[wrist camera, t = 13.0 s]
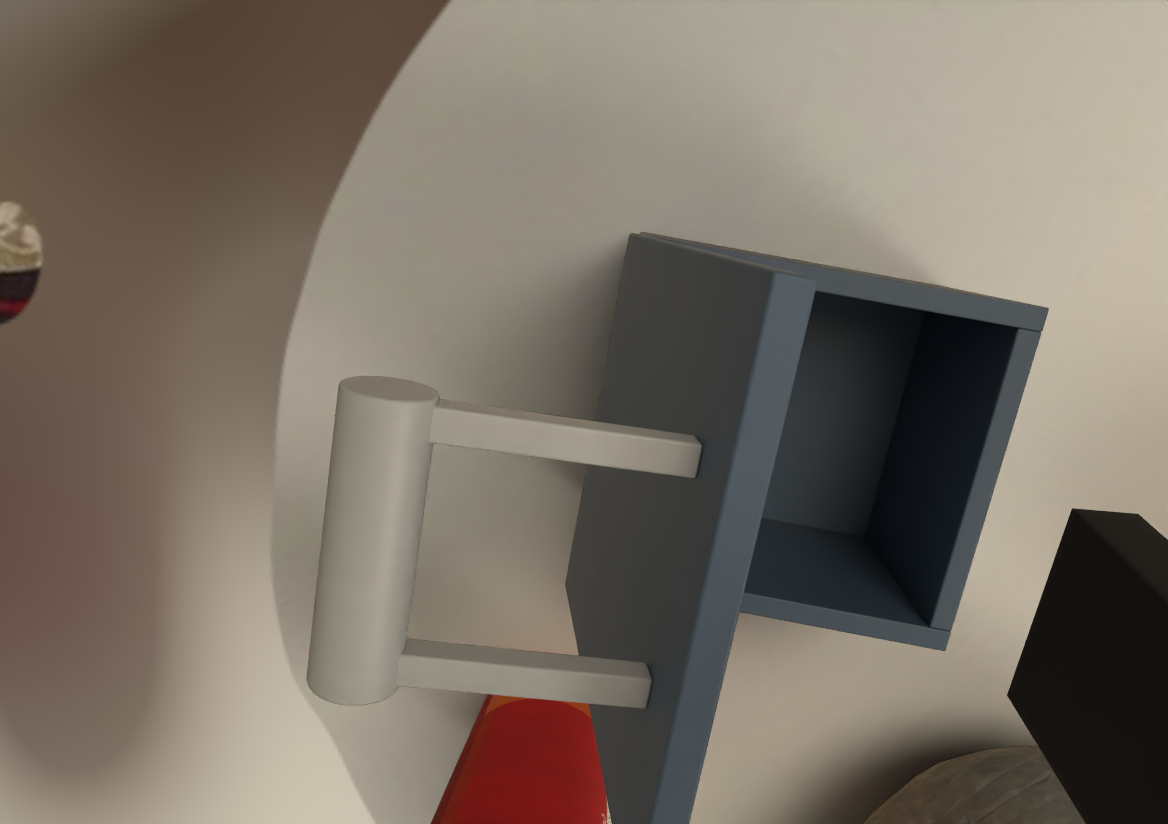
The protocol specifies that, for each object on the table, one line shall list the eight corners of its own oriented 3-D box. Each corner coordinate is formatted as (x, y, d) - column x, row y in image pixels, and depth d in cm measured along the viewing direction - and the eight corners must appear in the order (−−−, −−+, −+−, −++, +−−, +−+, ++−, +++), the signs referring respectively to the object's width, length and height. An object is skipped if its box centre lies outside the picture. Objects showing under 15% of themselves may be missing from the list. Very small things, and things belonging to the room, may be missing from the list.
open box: (944, 286, 37) (1049, 308, 27) (872, 549, 40) (945, 651, 30) (640, 231, 37) (641, 234, 28) (591, 496, 40) (576, 581, 31)
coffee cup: (543, 808, 44) (495, 1098, 30) (432, 702, 43) (326, 948, 29) (661, 714, 42) (672, 972, 28) (548, 602, 42) (499, 808, 27)
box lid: (820, 278, 14) (340, 193, 12) (667, 918, 16) (266, 896, 15) (653, 236, 27) (418, 194, 26) (586, 587, 30) (372, 563, 29)
